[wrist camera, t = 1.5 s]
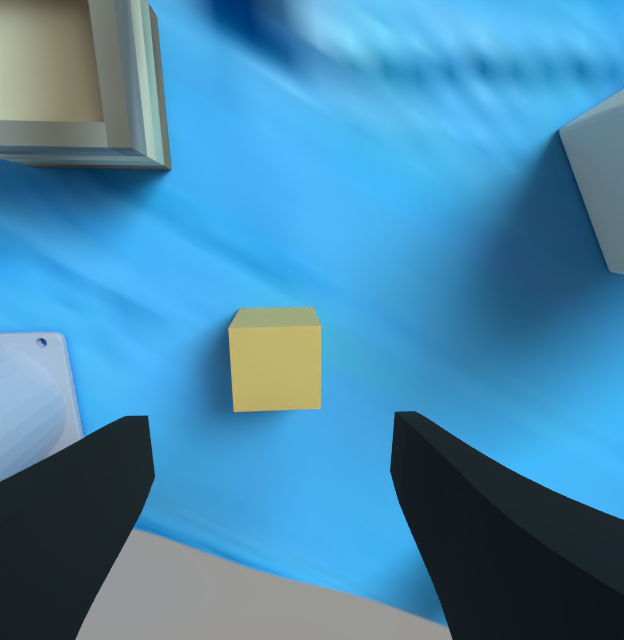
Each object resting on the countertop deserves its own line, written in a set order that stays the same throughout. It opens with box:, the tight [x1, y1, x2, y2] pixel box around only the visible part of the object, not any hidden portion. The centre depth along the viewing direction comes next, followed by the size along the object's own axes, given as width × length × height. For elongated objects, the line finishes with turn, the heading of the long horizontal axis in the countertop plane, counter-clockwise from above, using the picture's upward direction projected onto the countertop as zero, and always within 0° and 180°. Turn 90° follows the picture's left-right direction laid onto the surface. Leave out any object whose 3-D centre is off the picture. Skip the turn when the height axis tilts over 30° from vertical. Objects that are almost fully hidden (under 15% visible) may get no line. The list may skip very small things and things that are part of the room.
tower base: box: [0, 0, 171, 169], centre depth 14 cm, size 6×6×4 cm
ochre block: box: [228, 307, 321, 412], centre depth 17 cm, size 4×4×4 cm
